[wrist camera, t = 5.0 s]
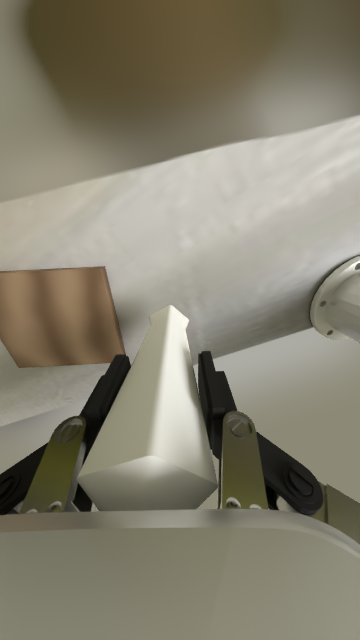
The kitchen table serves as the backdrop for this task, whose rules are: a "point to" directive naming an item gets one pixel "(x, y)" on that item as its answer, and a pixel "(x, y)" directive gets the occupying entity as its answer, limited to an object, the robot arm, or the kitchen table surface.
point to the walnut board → (58, 317)
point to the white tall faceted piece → (153, 431)
